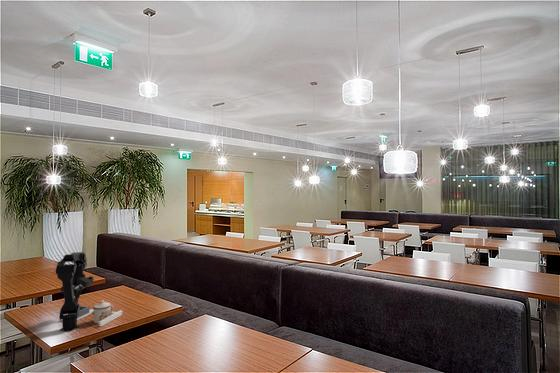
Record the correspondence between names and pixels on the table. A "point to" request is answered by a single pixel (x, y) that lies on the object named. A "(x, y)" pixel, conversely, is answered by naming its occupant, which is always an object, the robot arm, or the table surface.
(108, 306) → the teacup with lid
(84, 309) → the grey open storage bin
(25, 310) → the table surface
